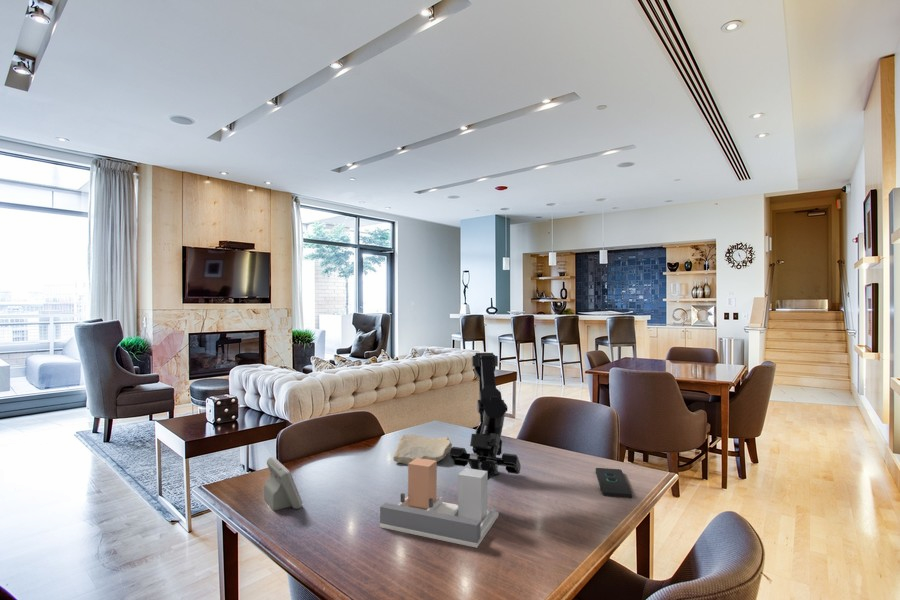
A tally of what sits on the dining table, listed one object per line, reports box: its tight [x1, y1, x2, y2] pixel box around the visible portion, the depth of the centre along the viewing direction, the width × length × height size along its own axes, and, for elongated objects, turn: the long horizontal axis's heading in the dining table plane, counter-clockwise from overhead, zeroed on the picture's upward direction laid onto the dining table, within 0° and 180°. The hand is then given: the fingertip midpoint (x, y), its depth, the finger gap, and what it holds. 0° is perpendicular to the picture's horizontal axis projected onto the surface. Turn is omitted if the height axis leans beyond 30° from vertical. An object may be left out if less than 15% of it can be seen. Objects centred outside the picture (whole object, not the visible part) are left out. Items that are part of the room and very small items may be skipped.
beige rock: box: [392, 434, 453, 466], centre depth 172 cm, size 24×8×20 cm
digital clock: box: [263, 457, 303, 511], centre depth 131 cm, size 16×9×11 cm, turn 25°
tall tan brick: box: [407, 458, 438, 509], centre depth 127 cm, size 5×6×11 cm
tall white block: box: [457, 467, 489, 523], centre depth 119 cm, size 5×6×11 cm
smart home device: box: [595, 467, 633, 499], centre depth 144 cm, size 8×2×20 cm
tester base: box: [379, 493, 500, 548], centre depth 119 cm, size 17×25×5 cm
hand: (477, 490), depth 122 cm, fingers closed, pressing on tall white block
